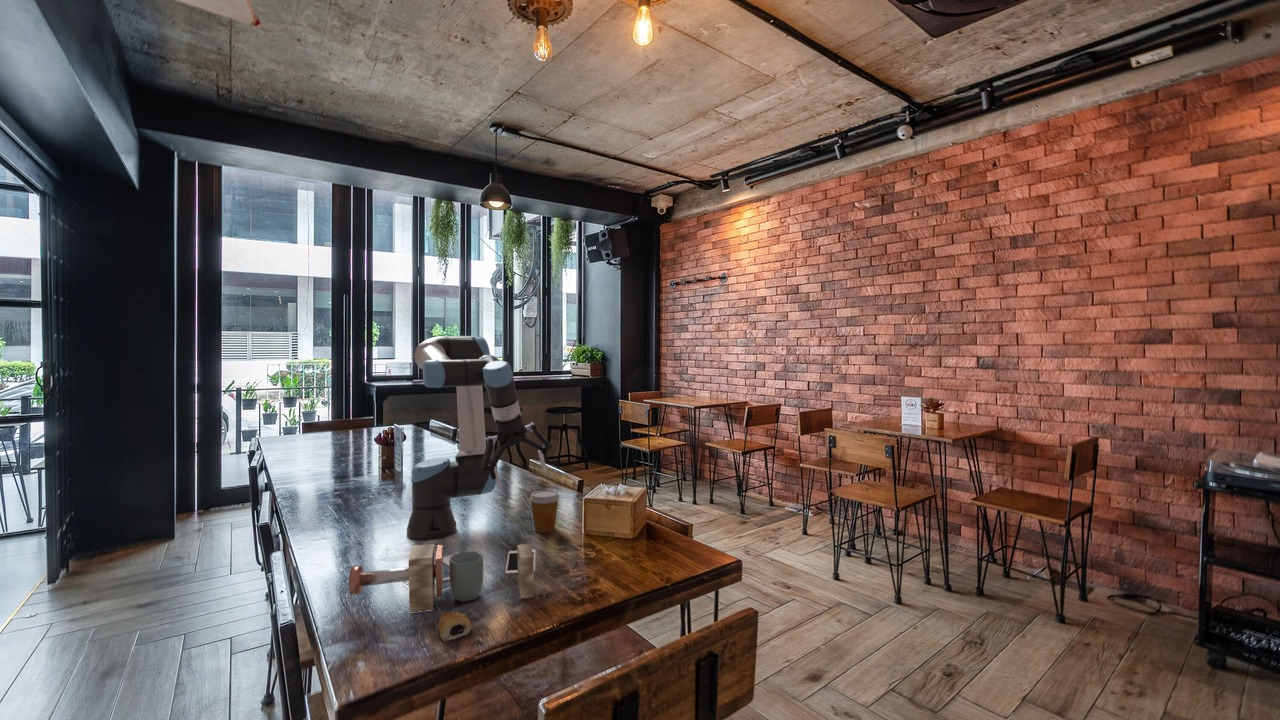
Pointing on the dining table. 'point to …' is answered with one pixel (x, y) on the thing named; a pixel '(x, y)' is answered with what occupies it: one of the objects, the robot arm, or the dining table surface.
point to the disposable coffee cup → (544, 510)
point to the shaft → (393, 576)
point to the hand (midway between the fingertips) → (522, 478)
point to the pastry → (453, 625)
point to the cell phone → (514, 562)
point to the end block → (525, 571)
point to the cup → (466, 575)
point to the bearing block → (421, 578)
